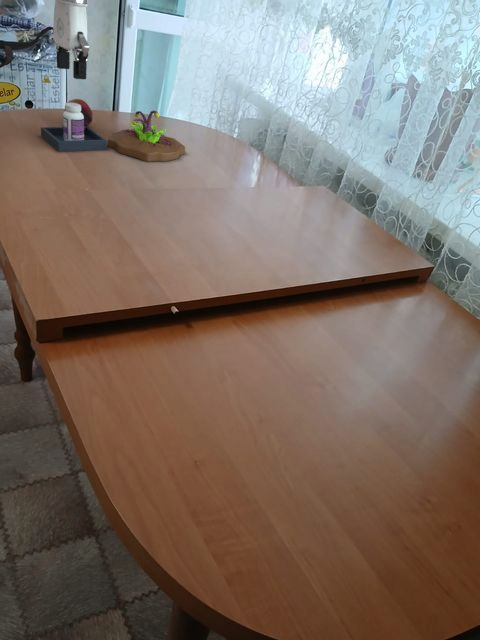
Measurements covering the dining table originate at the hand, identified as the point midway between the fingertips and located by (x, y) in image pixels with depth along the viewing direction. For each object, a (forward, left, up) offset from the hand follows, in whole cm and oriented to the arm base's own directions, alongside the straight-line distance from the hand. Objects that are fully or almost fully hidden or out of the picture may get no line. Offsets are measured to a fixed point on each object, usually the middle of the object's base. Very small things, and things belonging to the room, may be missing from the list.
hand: (71, 73), depth 140 cm
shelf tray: (+1, 0, -18) cm, 18 cm away
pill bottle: (+1, 0, -18) cm, 18 cm away
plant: (+20, -7, -18) cm, 28 cm away
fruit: (+8, +12, -18) cm, 23 cm away
